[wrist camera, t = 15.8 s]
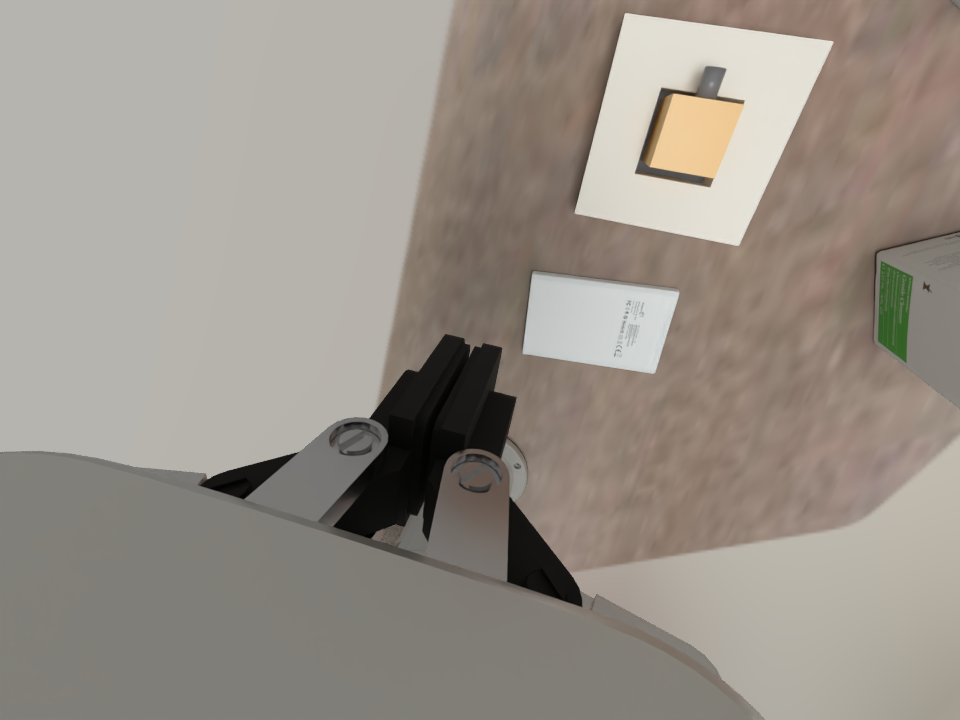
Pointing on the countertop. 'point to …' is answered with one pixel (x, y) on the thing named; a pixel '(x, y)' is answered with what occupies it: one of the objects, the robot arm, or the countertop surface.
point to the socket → (678, 70)
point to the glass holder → (956, 3)
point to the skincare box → (922, 310)
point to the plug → (693, 129)
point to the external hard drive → (598, 321)
